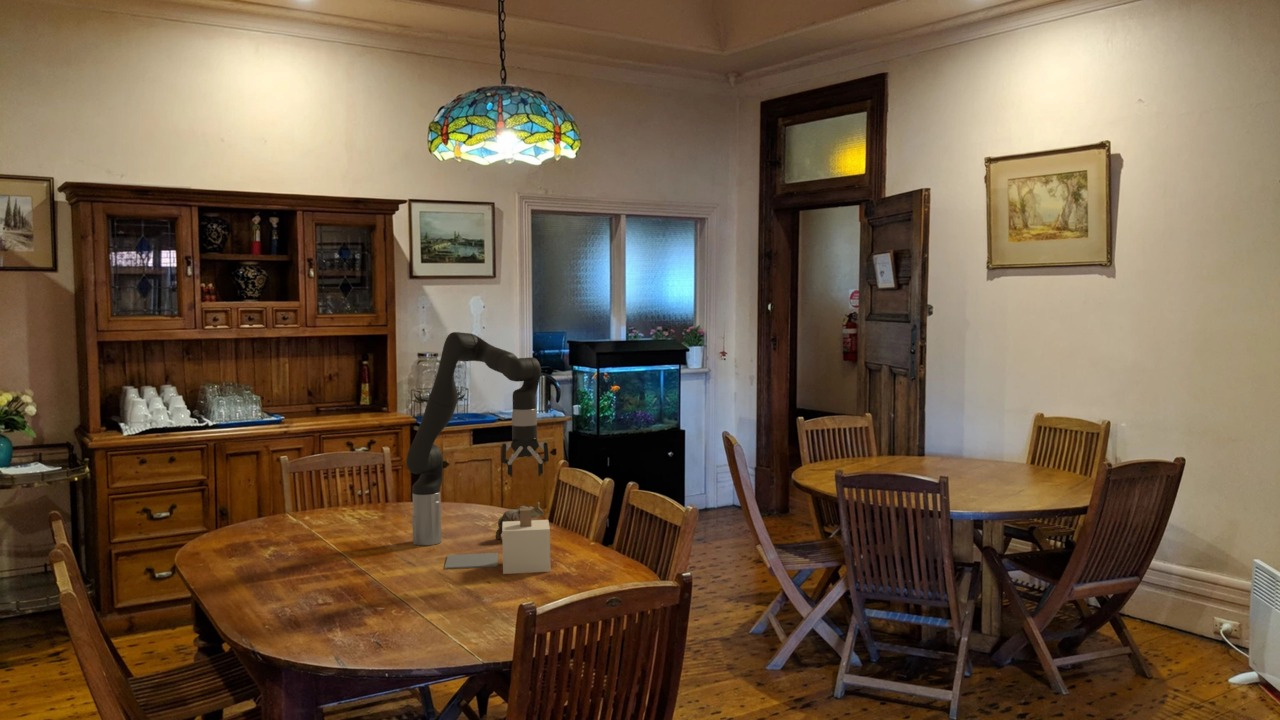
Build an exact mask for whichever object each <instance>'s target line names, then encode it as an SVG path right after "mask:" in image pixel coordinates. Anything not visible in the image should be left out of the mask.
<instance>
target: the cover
mask: <svg viewBox="0 0 1280 720" xmlns="http://www.w3.org/2000/svg"><path fill="white" fill-rule="evenodd" d="M519 508H520V507H519ZM549 522H550V521H549V519H535V520H533V519H531V508H520V521H506V522H503V524H502V534H501V538H502V539H501V540H502V541H501V542H502V574H503V575H507V574H510V575H511V574H528V573H531V574H532V573H547V572H548V573H549V572H550V573H551V571H552V569H551V530H550V529H551V528H550V523H549Z"/></svg>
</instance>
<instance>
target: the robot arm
mask: <svg viewBox="0 0 1280 720" xmlns="http://www.w3.org/2000/svg"><path fill="white" fill-rule="evenodd" d="M440 356H441V357H440V360H439V365H438V369H437V372H436V376H435V379H434V383H433V386H432V389H431V391H430V394H429V397H428V400H427V402H426V406H425V410H424V412H423V414H422V418H421V421H420V424H419V427H418V429H417V431H416V434H415V436H414V437H413V438H414V439H413V440H412V443H411V445H410V446H409V449H408V451H407V455H406V467H407V469H408V471H409V472H410V473H411V474H414V475H420V476H419V478H418V479H417V480H416V481H415V482H414V483H413V484H412V485H411V486H412V487H411V489H412V492H411V493H412V518H411V521H412V522H411V523H412V545H413V546H416V545H417V546H433V545H438V544H440V543H442V537H443V536H442V510H441V509H442V508H441V507H442V506H441V505H442V504H441V503H442V502H441V500H442V499H441V486H442V485H443V484H442V483H443V475H444V472H443V471H444V469H443V468H444V458H443V453H442V450H441V449H440V447H439V446H438V445H436V444H434V443H435V441H436V439H437V438H438V436H439V435H440V434H441V432H442V431H443V430H444V429H445V428H446V426H447V425H448V423H449V422H450V421H451V420H452V418H453V416H454V413H455V410H456V407H457V404H458V401H459V393H458V390H457V386H456V382H455V371H456V367H457V363H458V362H482V363H485V365H486V366H487V367H488V368H489V369H491V370H493V371H495V372H498V373H500V374H502V375H503V376H504V377H505V378H506V379H507V380H509V381H510V382H522V386H521V387H520V388H517V389H515V390H513V392H512V413H511V427H512V430H511V433H512V436H511V438H512V439H511V440H512V441H511V443H509V442H505V441H504V442H502V444H501V463H502V464H506V466H507V475H508V476H509V477H510V478H512V477H513V462H514V461H515V460H516V458H517V457H519V458H525V457H527V458H528V457H529V458H531V457H533V458H534V459H535V460H536V461H537V462H538V463H537V476H538V477H541V476H542V475H543V473H544V465H543V464H544V463H546V462H549V459H550V458H549V444H548V442H547V440H546V441H545V440H544V441H541V442H539V441H538V415H537V391H538V388H539V383H540V379H541V376H542V368H541V364H540V361H538V359H537V358H535V357H532V356H531V357H530V356H529V357H520V358H518V357H517V355H516V354H514V353H513V352H510V351H507V350H505V349H502V348H499V347H496V346H495V345H491V344H490V343H488V342H487V341H485V340H484V339H482V338H481V337H479V336H478V335H476V334H474V333H470V332H460V331H452V332H450V333H449V334H448V335H447V337H446V338H445V341H444V344H443V347H442V351H441V355H440ZM539 447H540V449H542V450H543V456H544V457H541V456H540V455H539V453H538V452H537V450H538V449H539ZM509 448H510V449H512V450H513V453H512V454H511V455H510V457H509V458H507V457H506V455H507V451H508V450H510V449H509Z"/></svg>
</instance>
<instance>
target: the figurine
mask: <svg viewBox="0 0 1280 720" xmlns="http://www.w3.org/2000/svg"><path fill="white" fill-rule="evenodd" d="M540 505H541V504H540V502H539V501H537V503H536V508H535V507H533V506H531V505H529V506H526V505H525V504H524V505H520V506H519V508H518V509H509V510H506V511H505V512H504V513H503V515H502V516H500V518H499V519H498V521H497V527H498V529H496V531H495V539H496V540H502V524H503V522H506V521H520V508H531V520H533V519H534V518H541V517H543V516H544V510H543V509H542V508H541V507H540Z"/></svg>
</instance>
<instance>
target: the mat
mask: <svg viewBox="0 0 1280 720" xmlns="http://www.w3.org/2000/svg"><path fill="white" fill-rule="evenodd" d="M498 562H499V552H485V553H482V552H481V553H466V554H465V553H463V554H447V557H446V560H445V564H444V570H451V569H453V570H454V569H473V568H474V569H475V568H476V569H477V568H494V567H495V568H496V567H498Z"/></svg>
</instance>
